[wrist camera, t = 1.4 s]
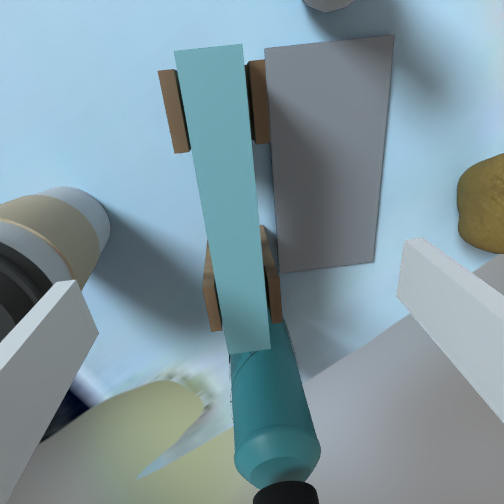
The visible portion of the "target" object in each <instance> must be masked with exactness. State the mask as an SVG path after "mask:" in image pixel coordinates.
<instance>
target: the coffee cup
mask: <svg viewBox="0 0 504 504" xmlns="http://www.w3.org/2000/svg"><path fill="white" fill-rule="evenodd" d="M110 232H111V226H110V220H109V217H108V215H107V213H106V211H105V209H104V208H103V207H102V205H101V204H100V203H99V202H98V201H97V200H96V199H95V198H93V197H92V196H91V195H89V194H88V193H86V192H84V191H82V190H79V189H76V188H72V187H55V188H51V189H48V190H46V191H43V192H40V193H38V194H35V195H28V196H23V197H20V198H17V199H14V200H11V201H9V202H6V203H3V204H0V343H1V341H2V340H3V339H4V338H5V337H6V336H7V335H8V334H9V333H10V332H11V331H12V330H13V328H14V327H15V326H16V325H17V324H18V323H19V322H20V321H21V320H22V319H23V318H24V317H25V315H26V314H27V313H28V312H29V311H30V310H31V309H32V308H33V307H34V306H35V305H36V304H37V303H38V301H39V300H40V299H41V298H42V297H43V296H44V295H45V294H46V293H47V292H48V291H49V290H50V288H51V287H52V286H53V285H54V284H55V283H56V282H61V281H69V280H76V281H77V283H78V285H79V288H80V290H81V291H82V289H83V287H84V285H85V284H86V282H87V280H88V278H89V276H90V275H91V273H92V271H93V269H94V268H95V266H96V264H97V262H98V259H99V255H100V254H101V252H102V250H103V249H104V247H105V245H106V243H107V242H108V240H109V237H110Z"/></svg>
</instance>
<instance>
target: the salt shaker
mask: <svg viewBox="0 0 504 504" xmlns="http://www.w3.org/2000/svg"><path fill="white" fill-rule="evenodd" d="M303 1H304V2H305V3H306V4H307V5H308V6H309V7H312V8H314V9H317V10H320V11H322V12H325V13H326V12H330V11H334V10H338V9H342V8H346V7H347V6H348V5H350V4H351V3H352V2H353V1H354V0H303Z"/></svg>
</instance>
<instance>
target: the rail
mask: <svg viewBox="0 0 504 504" xmlns="http://www.w3.org/2000/svg"><path fill="white" fill-rule="evenodd" d="M174 55H175V61H176V66H177V72H178V77H179V83H180V88H181V94H182V99H183V105H184V111H185V116H186V122H187V127H188V133H189V138H190V144H191V149H192V155H193V160H194V166H195V171H196V177H197V183H198V188H199V194H200V199H201V205H202V210H203V216H204V221H205V227H206V232H207V238H208V243H209V249H210V254H211V260H212V266H213V271H214V277H215V282H216V288H217V293H218V299H219V304H220V310H221V315H222V321H223V326H224V332H225V337H226V343H227V349H228V354H236V353H244V352H251V351H259V350H266V349H271V345H270V334H269V323H268V313H267V302H266V291H265V281H264V270H263V259H262V249H261V238H260V227H259V217H258V206H257V195H256V184H255V174H254V163H253V152H252V142H251V131H250V120H249V110H248V99H247V88H246V77H245V67H244V56H243V45H242V44H236V45H227V46H217V47H208V48H198V49H189V50H179V51H174Z"/></svg>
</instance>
